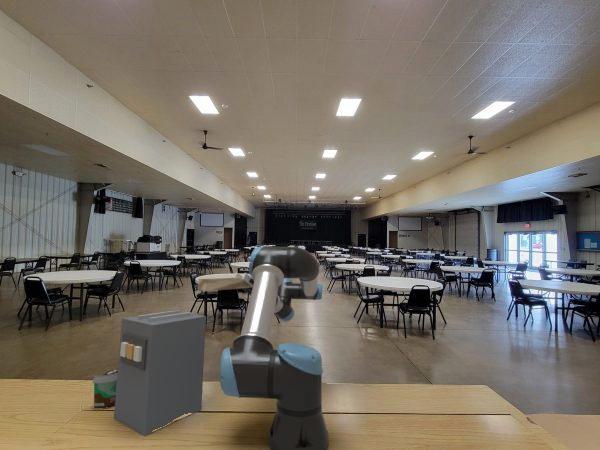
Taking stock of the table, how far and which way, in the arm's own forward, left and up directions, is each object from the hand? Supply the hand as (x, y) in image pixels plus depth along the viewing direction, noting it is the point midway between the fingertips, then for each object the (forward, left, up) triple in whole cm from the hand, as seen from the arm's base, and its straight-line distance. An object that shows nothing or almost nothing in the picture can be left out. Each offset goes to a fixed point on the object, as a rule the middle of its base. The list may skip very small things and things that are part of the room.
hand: (239, 275), depth 124 cm
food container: (+18, +35, -40) cm, 56 cm away
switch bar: (0, +5, -5) cm, 7 cm away
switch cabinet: (0, +31, -40) cm, 51 cm away
